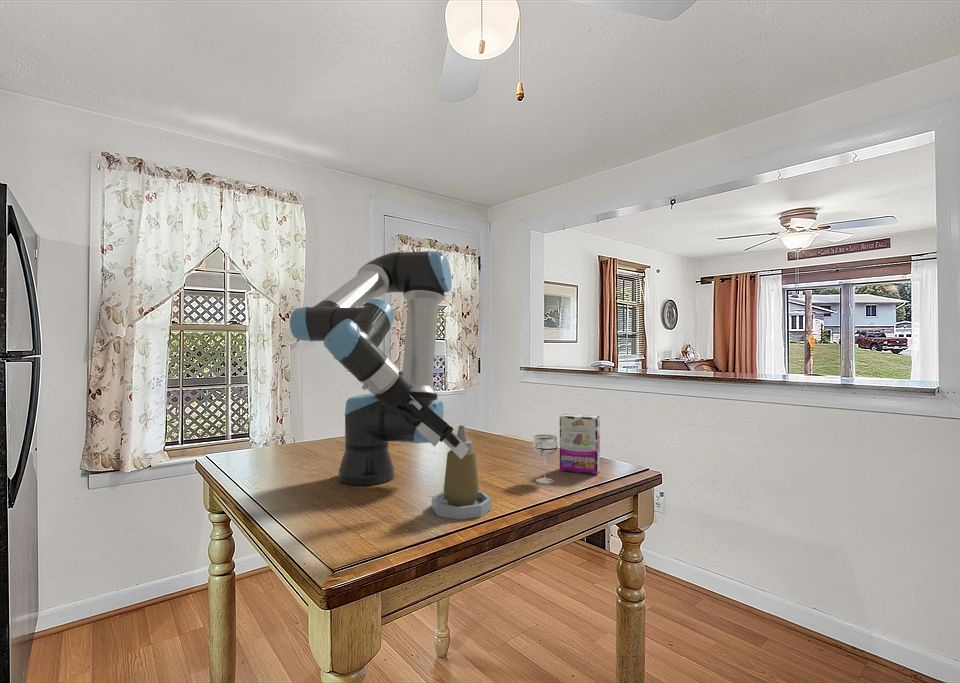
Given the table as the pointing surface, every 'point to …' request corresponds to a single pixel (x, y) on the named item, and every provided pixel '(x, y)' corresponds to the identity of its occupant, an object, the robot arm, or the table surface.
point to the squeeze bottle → (461, 475)
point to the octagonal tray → (463, 512)
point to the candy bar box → (580, 443)
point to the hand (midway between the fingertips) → (450, 447)
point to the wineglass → (545, 451)
